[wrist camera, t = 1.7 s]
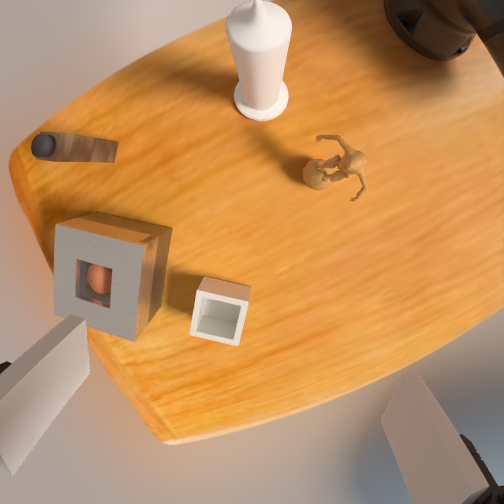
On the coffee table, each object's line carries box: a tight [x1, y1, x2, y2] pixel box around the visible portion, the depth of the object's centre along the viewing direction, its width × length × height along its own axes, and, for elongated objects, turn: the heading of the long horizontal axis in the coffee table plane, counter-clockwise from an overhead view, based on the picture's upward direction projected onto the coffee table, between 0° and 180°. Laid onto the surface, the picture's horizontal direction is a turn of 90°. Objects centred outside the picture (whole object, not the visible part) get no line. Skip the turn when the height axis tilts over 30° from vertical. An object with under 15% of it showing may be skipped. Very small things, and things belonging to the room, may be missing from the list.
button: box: [87, 264, 112, 294], centre depth 38 cm, size 4×4×6 cm
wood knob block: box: [31, 132, 118, 163], centre depth 33 cm, size 3×3×16 cm
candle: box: [226, 0, 292, 121], centre depth 26 cm, size 7×7×25 cm
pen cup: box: [190, 276, 251, 346], centre depth 43 cm, size 7×7×6 cm
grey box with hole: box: [54, 212, 172, 342], centre depth 39 cm, size 12×12×11 cm
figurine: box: [303, 135, 368, 201], centre depth 35 cm, size 8×6×12 cm
